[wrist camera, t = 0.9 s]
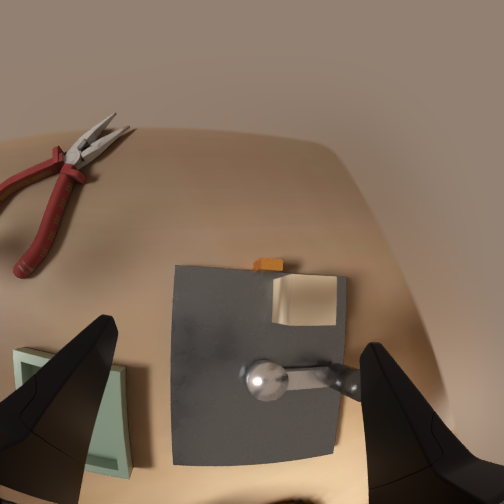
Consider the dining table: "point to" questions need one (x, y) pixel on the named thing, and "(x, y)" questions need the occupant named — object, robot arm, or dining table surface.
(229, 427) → the base
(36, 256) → the pliers
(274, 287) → the block
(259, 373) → the crank
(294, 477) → the dining table surface
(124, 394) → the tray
